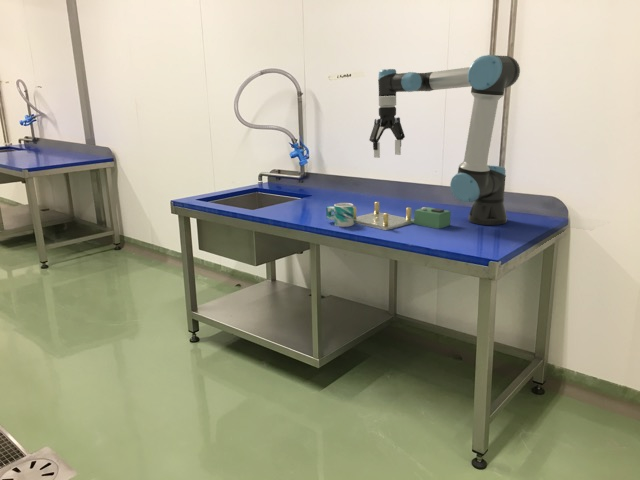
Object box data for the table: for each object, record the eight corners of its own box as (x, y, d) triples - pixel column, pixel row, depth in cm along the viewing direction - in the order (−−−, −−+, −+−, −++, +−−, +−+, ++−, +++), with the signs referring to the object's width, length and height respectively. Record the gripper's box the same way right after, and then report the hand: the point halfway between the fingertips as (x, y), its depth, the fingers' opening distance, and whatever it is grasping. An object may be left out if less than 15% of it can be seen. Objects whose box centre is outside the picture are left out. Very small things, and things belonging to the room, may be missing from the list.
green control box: (450, 225, 216) (450, 208, 214) (438, 229, 211) (439, 212, 209) (425, 220, 225) (426, 204, 223) (414, 224, 220) (414, 207, 218)
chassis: (415, 222, 222) (415, 207, 220) (386, 230, 210) (386, 215, 209) (376, 214, 238) (376, 200, 236) (347, 221, 227) (347, 207, 225)
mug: (346, 227, 217) (345, 207, 215) (322, 223, 224) (322, 204, 222) (357, 223, 223) (357, 203, 221) (334, 220, 230) (333, 200, 228)
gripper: (400, 105, 241) (399, 153, 247) (360, 107, 226) (361, 158, 231) (412, 105, 236) (412, 153, 241) (373, 107, 220) (374, 159, 226)
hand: (387, 156), depth 236 cm, fingers open, 13 cm apart
